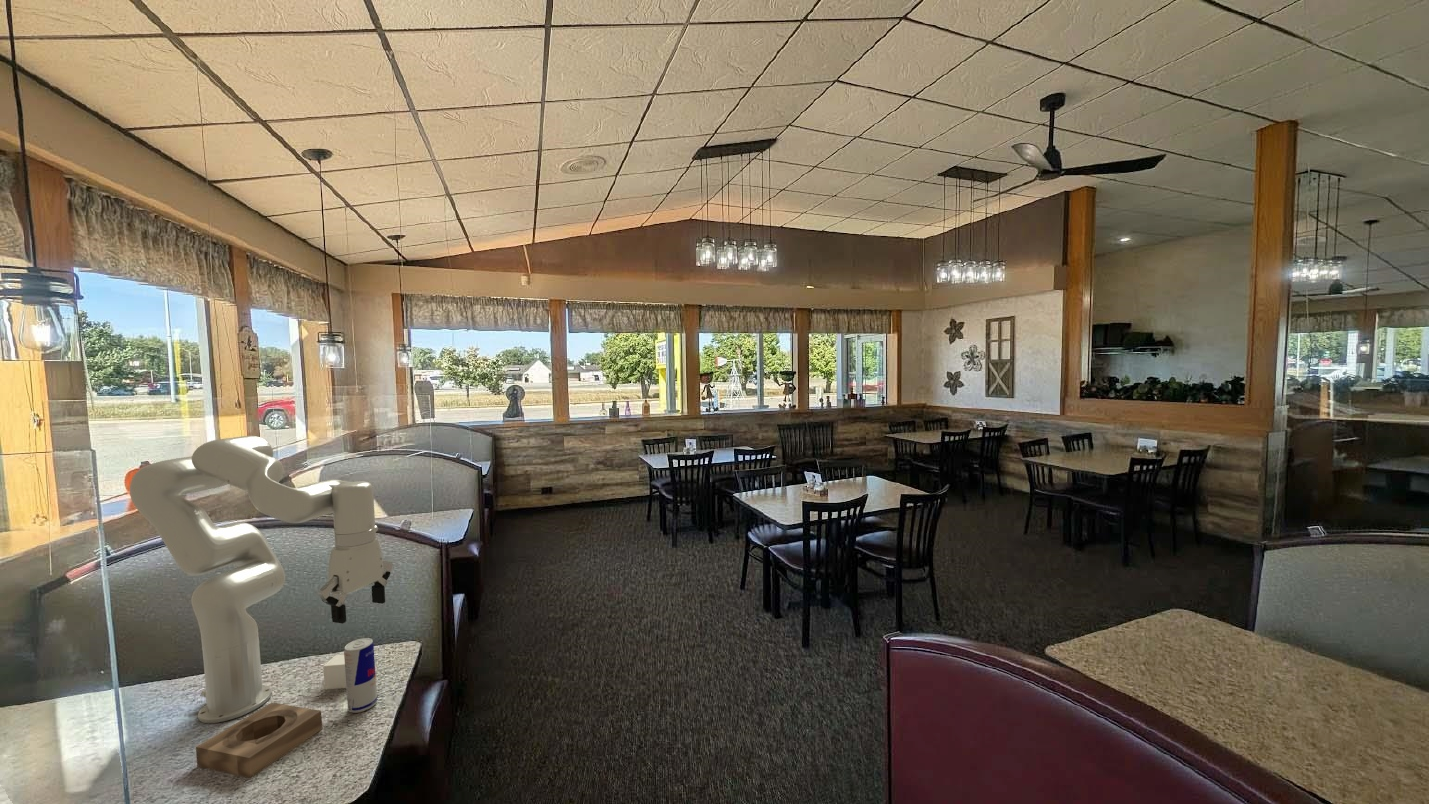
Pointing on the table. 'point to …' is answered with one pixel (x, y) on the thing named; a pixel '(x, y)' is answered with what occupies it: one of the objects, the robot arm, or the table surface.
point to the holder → (258, 739)
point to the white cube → (335, 673)
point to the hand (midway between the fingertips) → (359, 612)
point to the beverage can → (360, 675)
